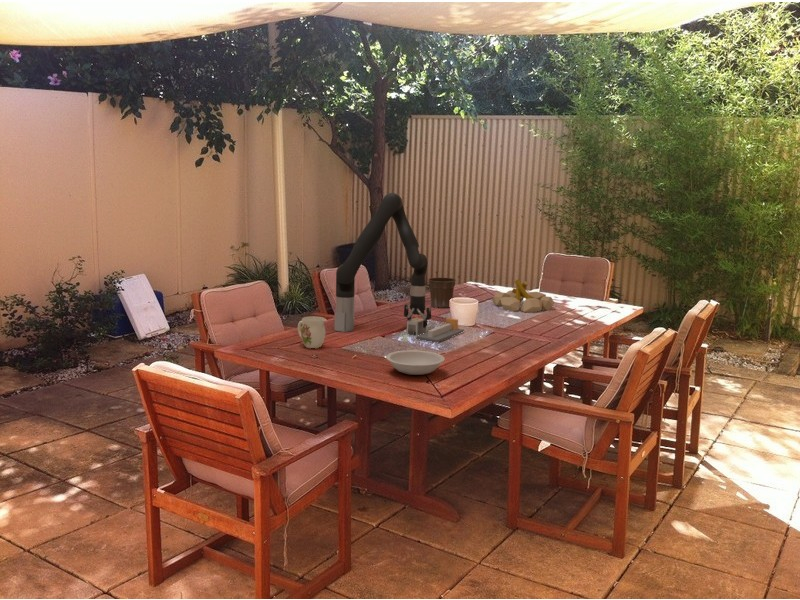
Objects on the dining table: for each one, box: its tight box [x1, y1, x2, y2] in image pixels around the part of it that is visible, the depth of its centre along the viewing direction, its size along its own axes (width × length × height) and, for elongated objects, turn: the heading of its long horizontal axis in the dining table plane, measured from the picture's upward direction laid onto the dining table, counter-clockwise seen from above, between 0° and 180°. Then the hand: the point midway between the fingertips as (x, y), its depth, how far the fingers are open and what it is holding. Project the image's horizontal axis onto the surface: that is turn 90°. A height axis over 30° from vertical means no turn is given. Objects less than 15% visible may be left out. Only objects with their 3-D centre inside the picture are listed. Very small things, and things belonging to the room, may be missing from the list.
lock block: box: [406, 317, 427, 336], centre depth 390 cm, size 10×6×7 cm, turn 150°
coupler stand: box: [415, 317, 465, 343], centre depth 387 cm, size 28×12×6 cm, turn 150°
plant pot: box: [427, 277, 456, 309], centre depth 461 cm, size 16×16×16 cm
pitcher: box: [297, 315, 327, 349], centre depth 358 cm, size 11×18×14 cm, turn 50°
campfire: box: [491, 279, 555, 313], centre depth 466 cm, size 35×34×17 cm
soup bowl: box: [385, 349, 446, 376], centre depth 321 cm, size 24×24×7 cm
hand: (417, 326), depth 390 cm, fingers open, 8 cm apart
